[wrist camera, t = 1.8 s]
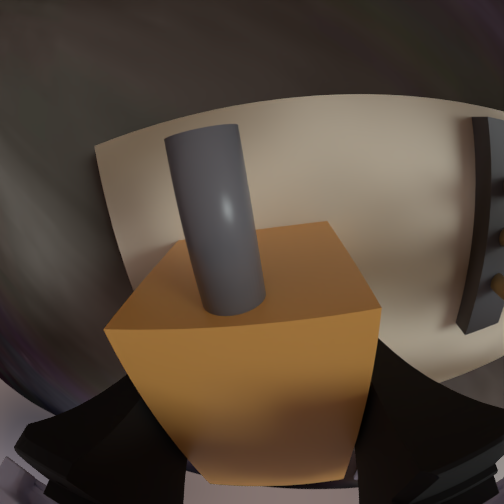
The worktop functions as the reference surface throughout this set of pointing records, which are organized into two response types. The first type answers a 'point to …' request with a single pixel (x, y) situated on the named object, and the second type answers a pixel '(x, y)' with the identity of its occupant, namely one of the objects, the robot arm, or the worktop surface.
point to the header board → (355, 206)
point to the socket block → (249, 331)
